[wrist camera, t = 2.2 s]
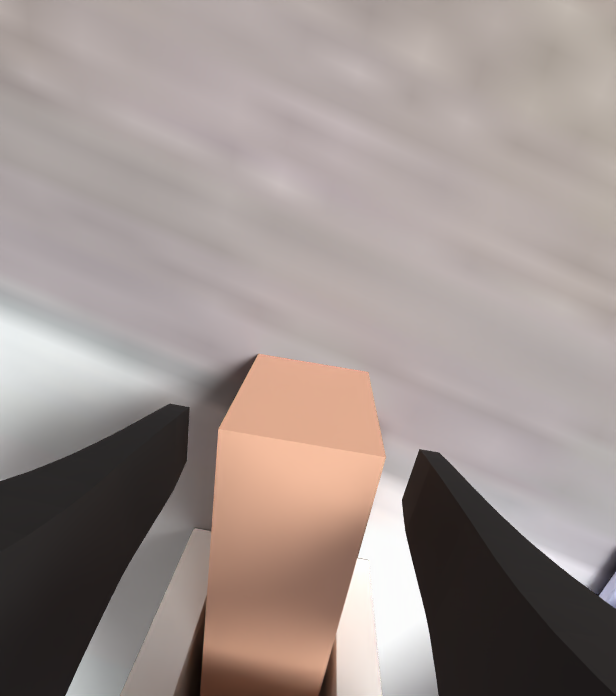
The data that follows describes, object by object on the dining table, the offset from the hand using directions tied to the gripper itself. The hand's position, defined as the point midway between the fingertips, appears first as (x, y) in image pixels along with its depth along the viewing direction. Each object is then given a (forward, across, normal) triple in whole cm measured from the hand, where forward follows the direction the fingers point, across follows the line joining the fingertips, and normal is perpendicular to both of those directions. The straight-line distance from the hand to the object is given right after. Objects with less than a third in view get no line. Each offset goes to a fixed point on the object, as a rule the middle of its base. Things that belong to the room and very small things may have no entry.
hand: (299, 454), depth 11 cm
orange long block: (+3, 0, +6) cm, 7 cm away
